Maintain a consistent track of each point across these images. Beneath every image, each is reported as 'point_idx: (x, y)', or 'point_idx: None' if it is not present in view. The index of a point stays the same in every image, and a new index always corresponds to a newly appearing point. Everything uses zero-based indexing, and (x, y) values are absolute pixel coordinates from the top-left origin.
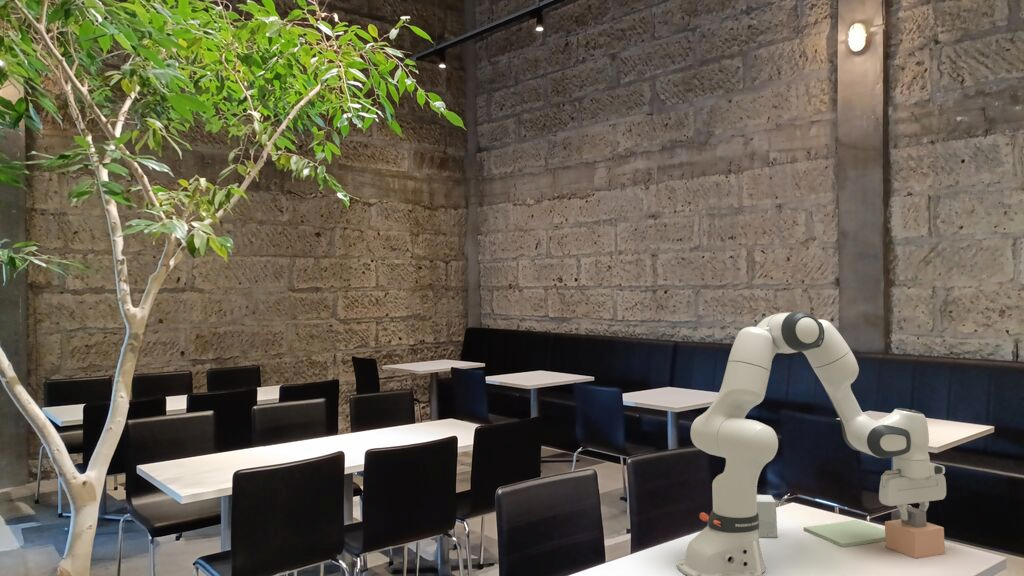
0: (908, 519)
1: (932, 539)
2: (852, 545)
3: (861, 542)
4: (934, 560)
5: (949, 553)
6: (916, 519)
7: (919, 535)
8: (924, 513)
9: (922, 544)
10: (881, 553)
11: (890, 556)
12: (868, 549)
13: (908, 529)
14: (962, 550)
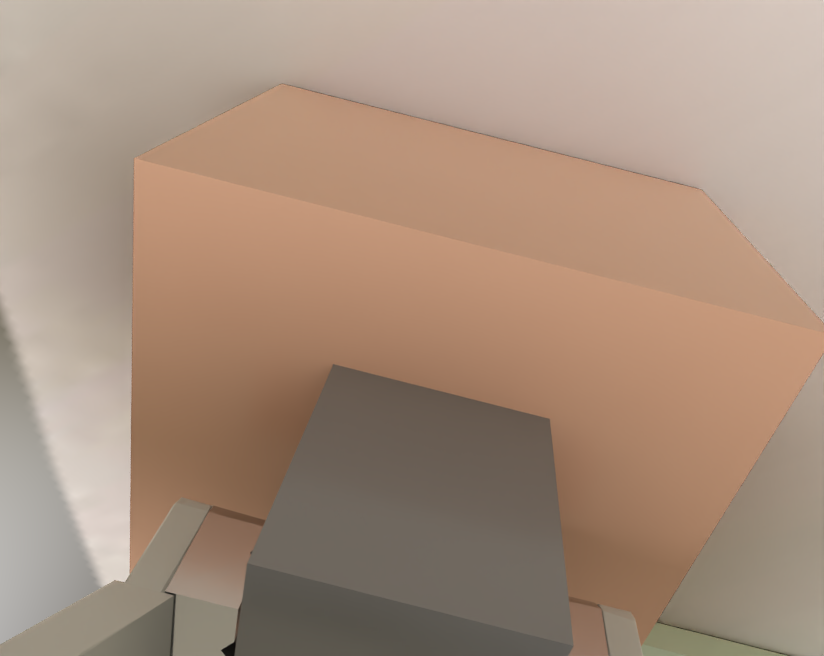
0: (577, 601)
1: (437, 176)
2: (746, 647)
3: (659, 636)
4: (603, 26)
5: (224, 59)
6: (548, 519)
7: (700, 276)
8: (305, 541)
9: (619, 210)
10: (782, 451)
11: (818, 369)
12: (747, 550)
13: (753, 450)
14: (7, 27)
